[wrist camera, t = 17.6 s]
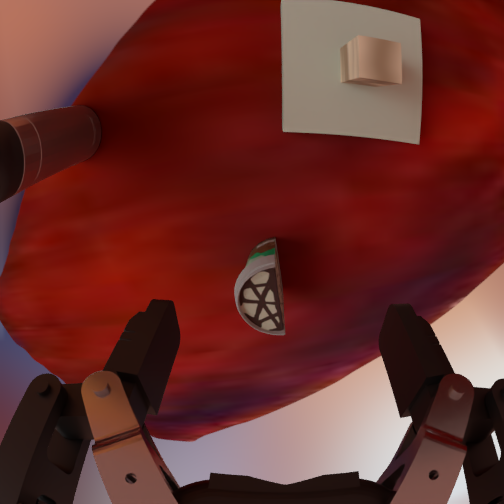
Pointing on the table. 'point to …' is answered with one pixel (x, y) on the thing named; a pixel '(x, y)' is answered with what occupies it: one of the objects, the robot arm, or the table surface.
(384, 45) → the birch block
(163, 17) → the table surface
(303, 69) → the base board
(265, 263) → the food container
